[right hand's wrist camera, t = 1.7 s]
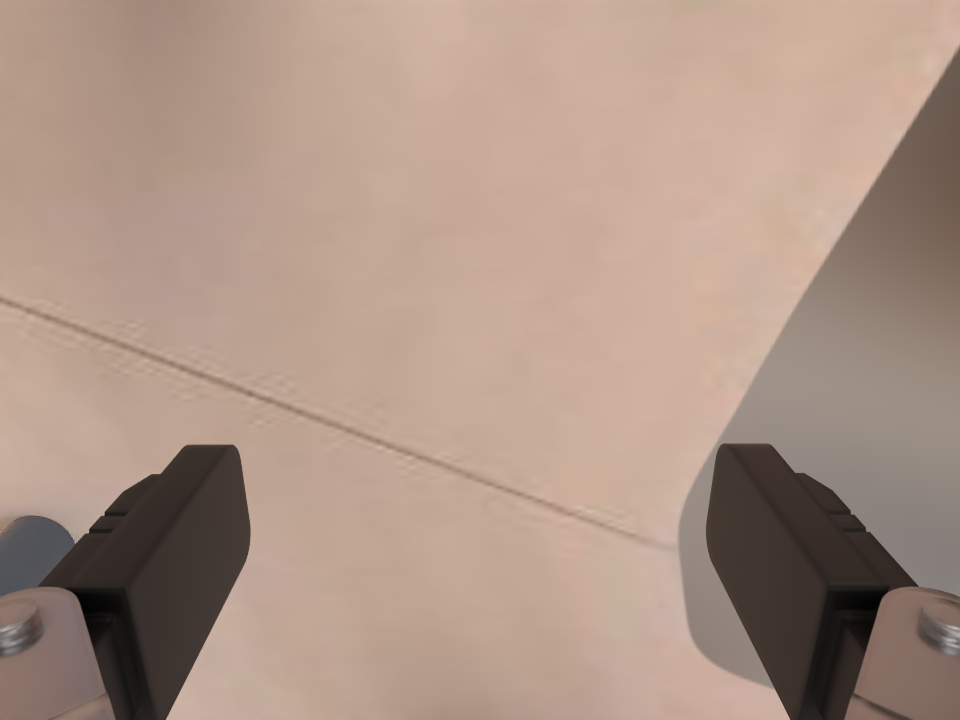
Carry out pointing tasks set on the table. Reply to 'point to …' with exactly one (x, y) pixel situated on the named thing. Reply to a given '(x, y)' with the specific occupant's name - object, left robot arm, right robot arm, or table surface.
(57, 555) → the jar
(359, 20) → the table surface
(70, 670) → the right robot arm
